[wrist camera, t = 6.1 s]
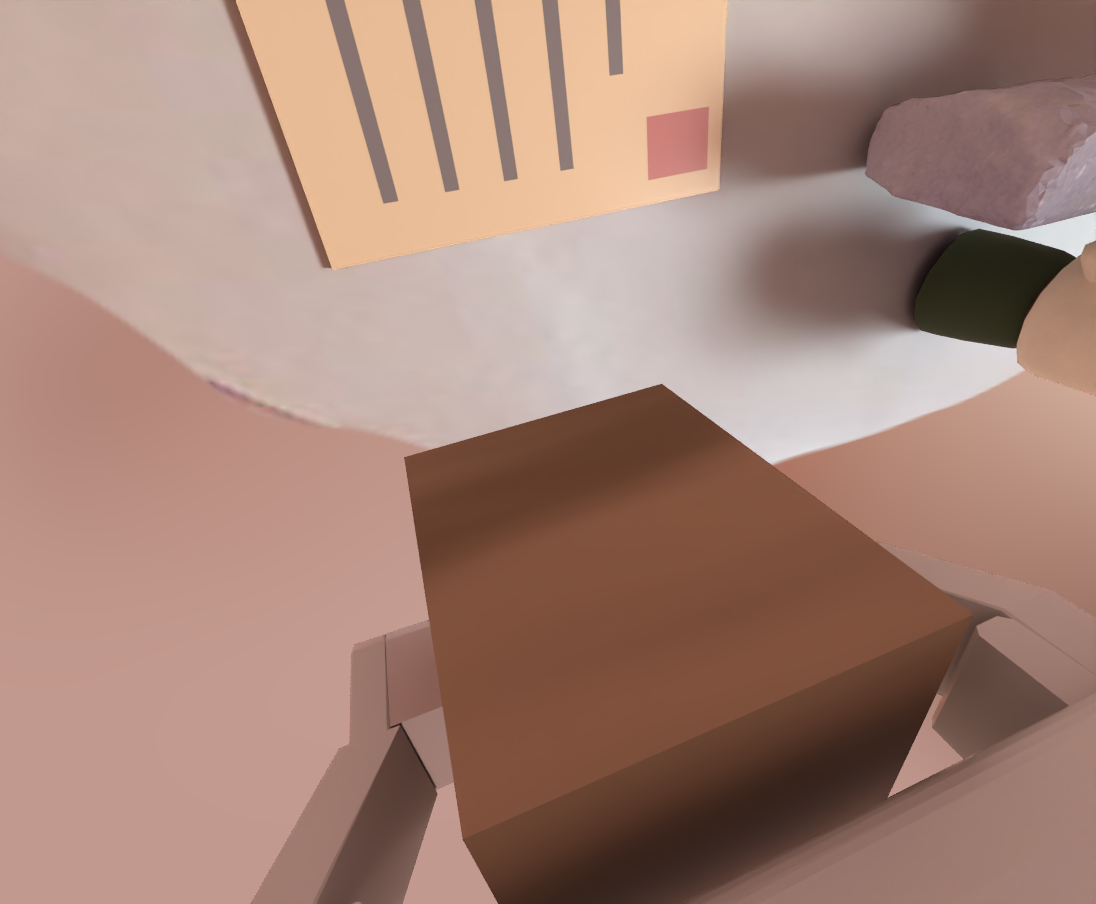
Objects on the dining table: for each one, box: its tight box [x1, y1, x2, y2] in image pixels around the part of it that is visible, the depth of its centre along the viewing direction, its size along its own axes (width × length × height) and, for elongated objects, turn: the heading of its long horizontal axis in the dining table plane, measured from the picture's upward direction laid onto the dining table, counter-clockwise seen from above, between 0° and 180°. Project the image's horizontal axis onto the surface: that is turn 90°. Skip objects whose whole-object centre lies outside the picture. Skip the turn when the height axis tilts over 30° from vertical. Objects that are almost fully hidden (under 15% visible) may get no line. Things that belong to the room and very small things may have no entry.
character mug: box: [914, 229, 1096, 396], centre depth 26 cm, size 11×7×13 cm, turn 49°
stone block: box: [865, 74, 1096, 230], centre depth 23 cm, size 12×5×10 cm, turn 96°
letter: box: [236, 0, 727, 270], centre depth 19 cm, size 12×18×1 cm, turn 98°
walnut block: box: [404, 384, 974, 904], centre depth 8 cm, size 5×5×6 cm
